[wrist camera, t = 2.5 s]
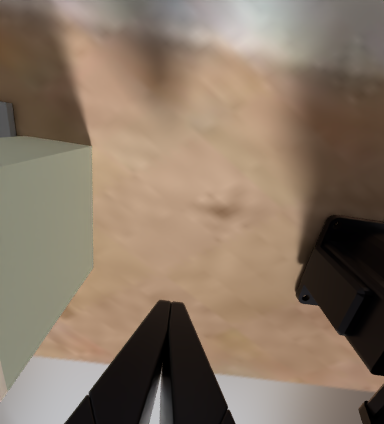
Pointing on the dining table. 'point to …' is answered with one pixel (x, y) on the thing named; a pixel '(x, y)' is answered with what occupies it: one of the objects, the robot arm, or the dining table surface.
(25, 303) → the slab
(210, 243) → the dining table surface
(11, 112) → the mat
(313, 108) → the dining table surface
